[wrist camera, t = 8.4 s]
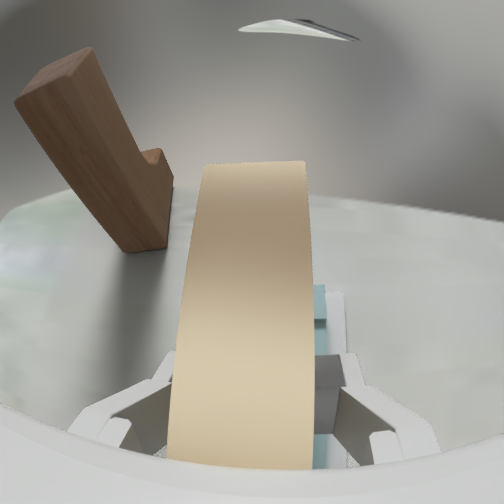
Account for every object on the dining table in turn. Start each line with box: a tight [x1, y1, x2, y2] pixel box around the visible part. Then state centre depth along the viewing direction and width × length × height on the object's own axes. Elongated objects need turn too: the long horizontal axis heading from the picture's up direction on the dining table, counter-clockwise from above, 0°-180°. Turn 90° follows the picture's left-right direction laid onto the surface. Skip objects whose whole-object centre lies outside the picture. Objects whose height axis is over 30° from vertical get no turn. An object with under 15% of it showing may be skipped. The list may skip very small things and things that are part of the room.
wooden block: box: [14, 47, 174, 253], centre depth 22 cm, size 9×4×18 cm, turn 4°
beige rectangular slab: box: [166, 161, 315, 470], centre depth 11 cm, size 7×2×11 cm, turn 177°
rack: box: [312, 285, 347, 469], centre depth 17 cm, size 22×9×4 cm, turn 177°
